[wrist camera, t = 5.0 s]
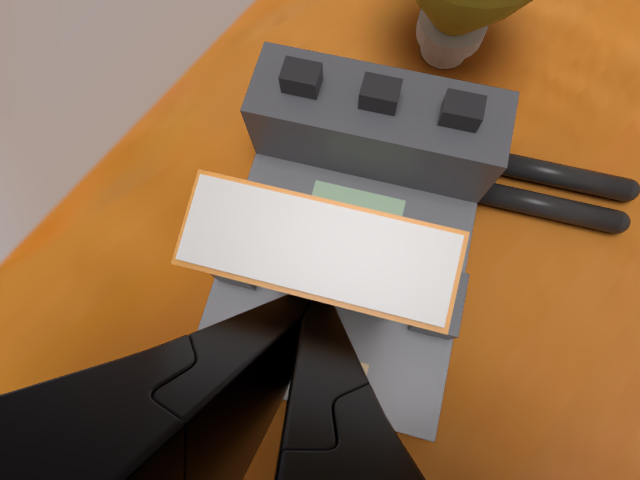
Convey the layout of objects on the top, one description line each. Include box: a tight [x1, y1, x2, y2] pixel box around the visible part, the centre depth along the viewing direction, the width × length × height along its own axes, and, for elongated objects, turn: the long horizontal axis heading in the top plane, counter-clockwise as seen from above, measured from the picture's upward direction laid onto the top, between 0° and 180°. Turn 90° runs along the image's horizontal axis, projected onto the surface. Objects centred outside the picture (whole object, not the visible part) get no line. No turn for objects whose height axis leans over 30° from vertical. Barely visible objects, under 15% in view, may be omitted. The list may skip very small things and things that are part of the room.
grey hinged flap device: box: [198, 42, 640, 442], centre depth 17 cm, size 13×17×5 cm
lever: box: [171, 169, 470, 335], centre depth 12 cm, size 2×5×9 cm, turn 75°
